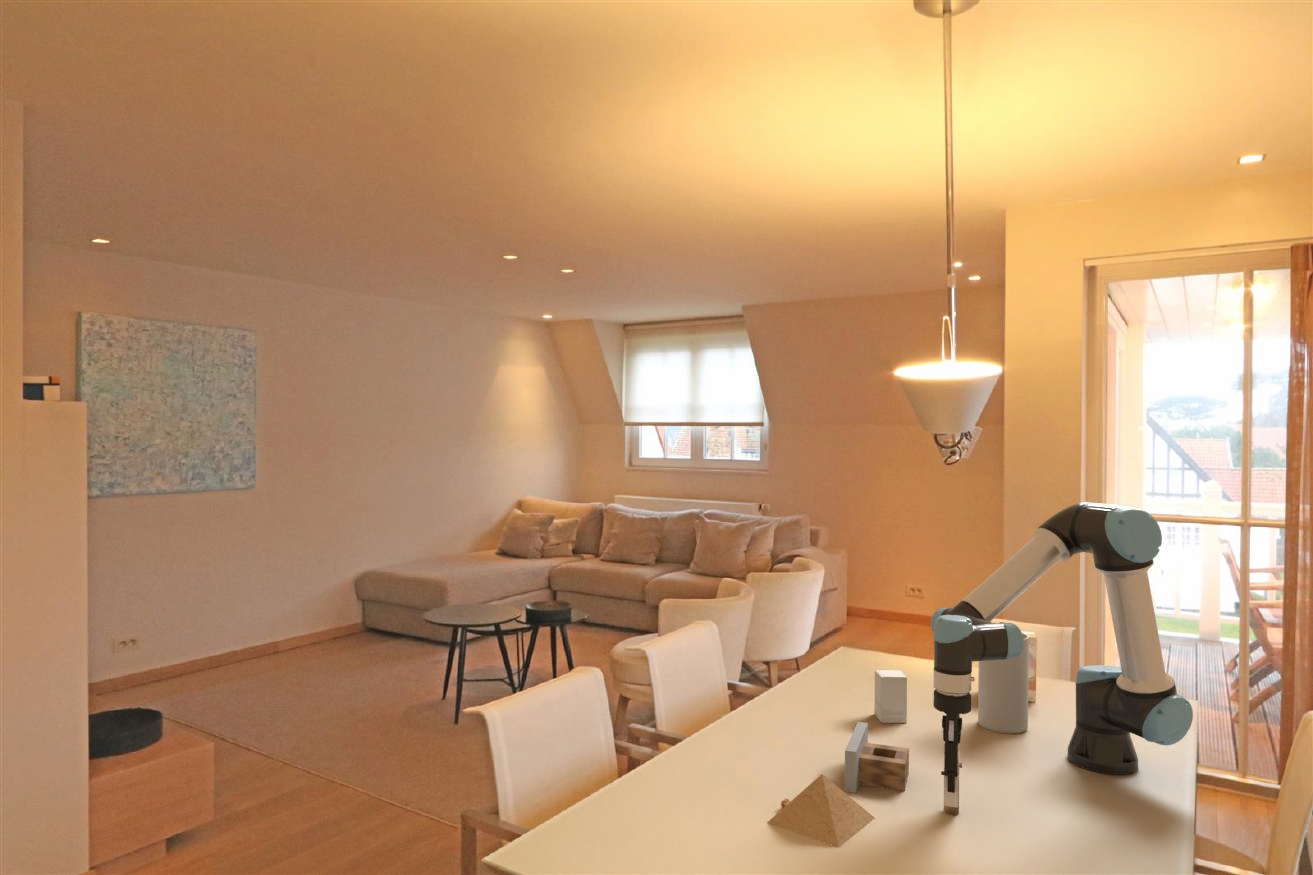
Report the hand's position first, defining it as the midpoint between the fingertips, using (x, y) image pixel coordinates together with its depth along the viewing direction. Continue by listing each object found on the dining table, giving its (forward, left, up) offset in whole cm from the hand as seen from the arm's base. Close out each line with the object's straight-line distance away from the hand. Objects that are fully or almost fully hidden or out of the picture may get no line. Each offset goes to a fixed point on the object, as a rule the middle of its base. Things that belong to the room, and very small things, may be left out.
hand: (951, 802), depth 178 cm
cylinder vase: (-11, -60, -2) cm, 61 cm away
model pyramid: (+25, +14, -3) cm, 29 cm away
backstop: (+21, -12, -2) cm, 24 cm away
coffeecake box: (-13, -89, -2) cm, 90 cm away
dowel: (0, 0, -2) cm, 2 cm away
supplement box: (+18, -55, -2) cm, 58 cm away
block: (+15, -12, -2) cm, 19 cm away
